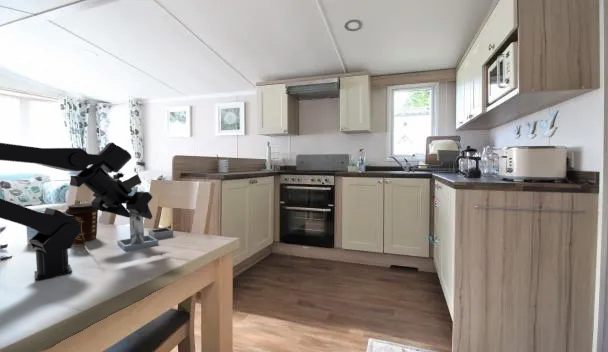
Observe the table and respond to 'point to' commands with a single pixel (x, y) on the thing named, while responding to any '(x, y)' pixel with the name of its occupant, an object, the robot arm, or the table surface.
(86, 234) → the coffee cup
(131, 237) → the stop pin
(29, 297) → the table surface
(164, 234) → the square socket base
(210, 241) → the table surface
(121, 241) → the tray
